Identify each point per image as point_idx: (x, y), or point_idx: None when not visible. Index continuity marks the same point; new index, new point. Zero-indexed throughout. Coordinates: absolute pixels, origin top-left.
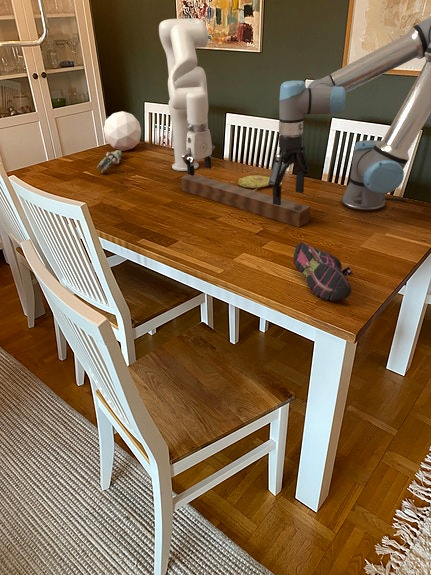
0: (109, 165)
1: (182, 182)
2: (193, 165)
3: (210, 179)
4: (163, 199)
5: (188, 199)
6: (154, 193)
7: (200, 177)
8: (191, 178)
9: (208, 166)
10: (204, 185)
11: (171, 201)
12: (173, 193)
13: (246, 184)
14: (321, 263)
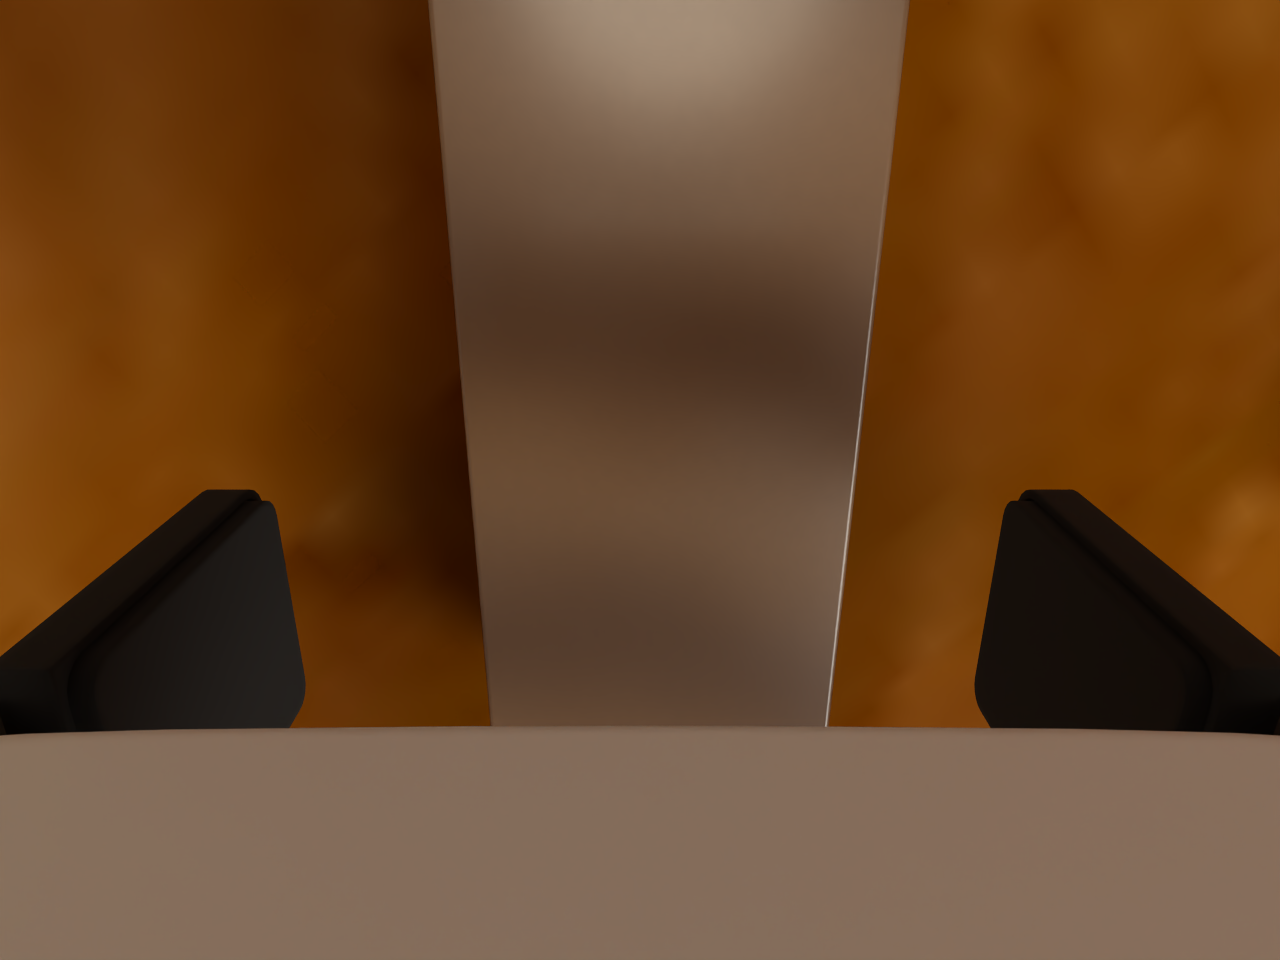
0: None
1: None
2: (1234, 684)
3: (496, 254)
4: (1249, 629)
5: (1058, 313)
6: None
7: (558, 553)
8: (738, 658)
9: (252, 583)
10: (893, 106)
11: (1276, 477)
12: (952, 683)
13: None
14: None
